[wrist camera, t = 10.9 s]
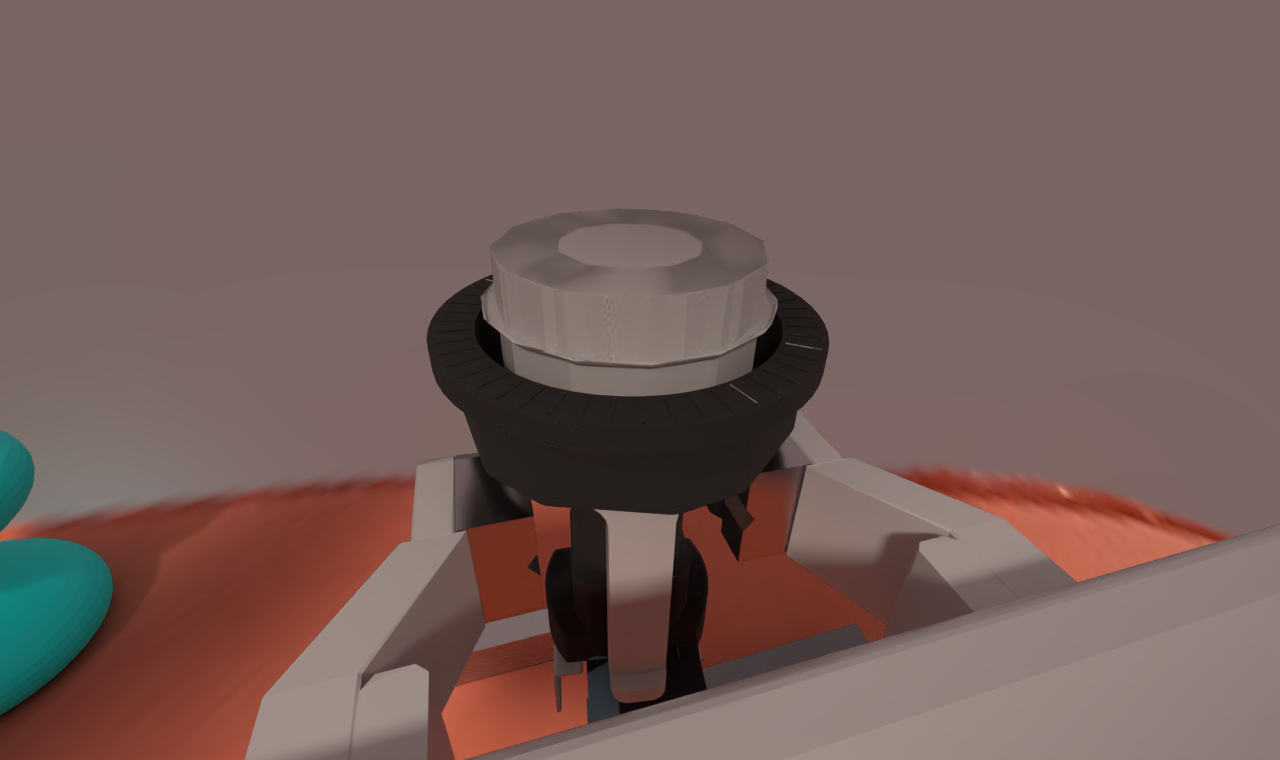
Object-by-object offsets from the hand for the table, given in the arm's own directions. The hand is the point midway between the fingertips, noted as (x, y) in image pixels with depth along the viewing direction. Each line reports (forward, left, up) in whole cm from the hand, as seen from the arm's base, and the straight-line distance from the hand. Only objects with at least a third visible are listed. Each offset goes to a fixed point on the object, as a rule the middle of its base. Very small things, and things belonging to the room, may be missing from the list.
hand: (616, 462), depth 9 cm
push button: (0, -1, -6) cm, 7 cm away
